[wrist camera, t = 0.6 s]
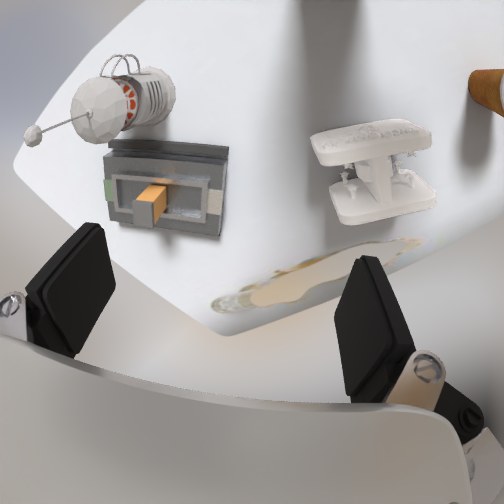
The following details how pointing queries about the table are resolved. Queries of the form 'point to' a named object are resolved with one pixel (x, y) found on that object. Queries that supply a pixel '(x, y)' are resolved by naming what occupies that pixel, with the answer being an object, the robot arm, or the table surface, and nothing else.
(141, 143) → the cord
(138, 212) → the lever
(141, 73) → the french press
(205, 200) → the panel
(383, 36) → the table surface
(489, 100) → the disposable coffee cup
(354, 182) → the cable organizer
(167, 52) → the table surface
